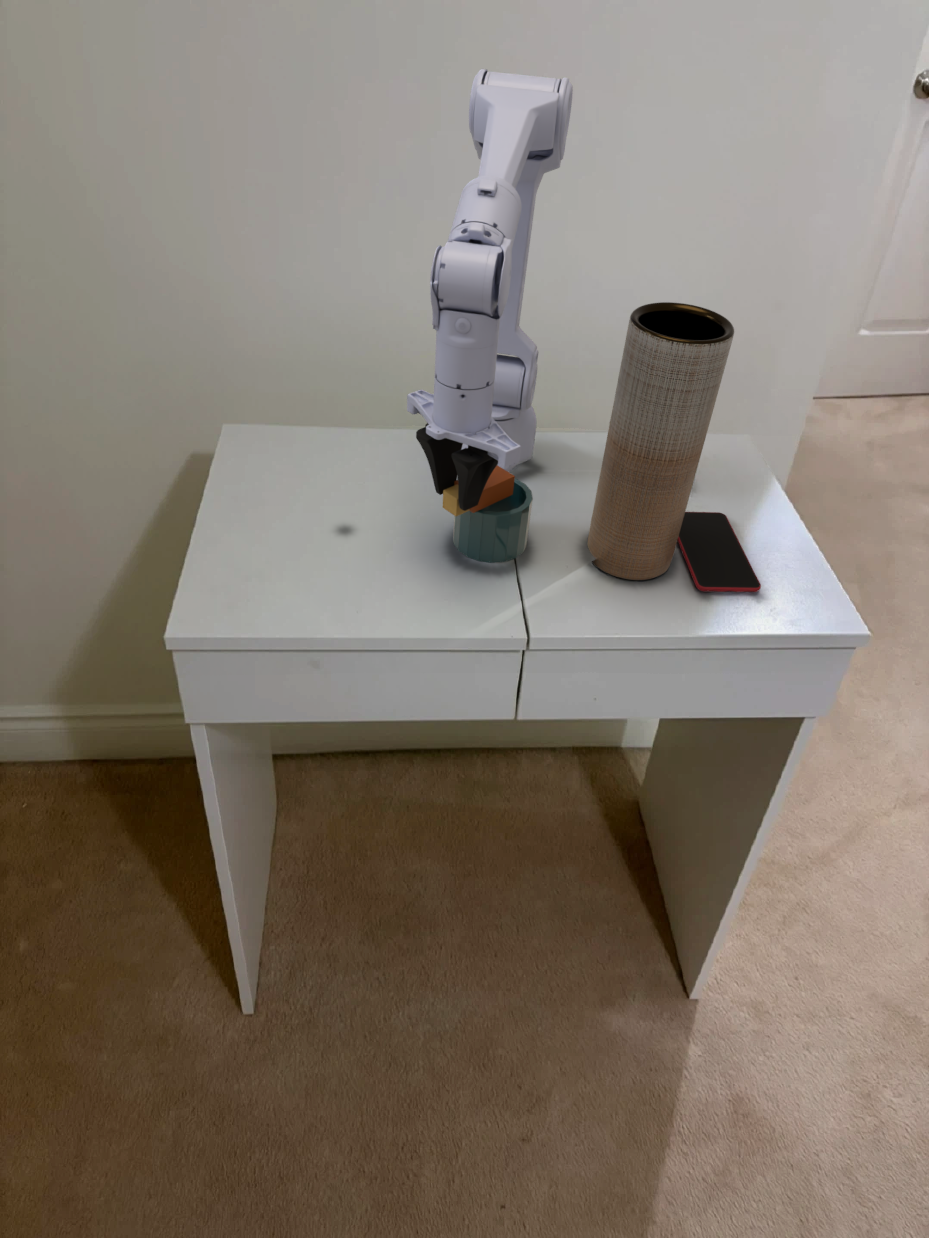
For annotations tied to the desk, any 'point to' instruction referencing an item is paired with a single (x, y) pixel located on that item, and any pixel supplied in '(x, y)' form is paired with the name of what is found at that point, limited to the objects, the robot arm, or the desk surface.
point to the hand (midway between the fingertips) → (456, 498)
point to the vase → (656, 435)
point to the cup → (496, 528)
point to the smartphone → (715, 554)
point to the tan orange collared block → (493, 492)
